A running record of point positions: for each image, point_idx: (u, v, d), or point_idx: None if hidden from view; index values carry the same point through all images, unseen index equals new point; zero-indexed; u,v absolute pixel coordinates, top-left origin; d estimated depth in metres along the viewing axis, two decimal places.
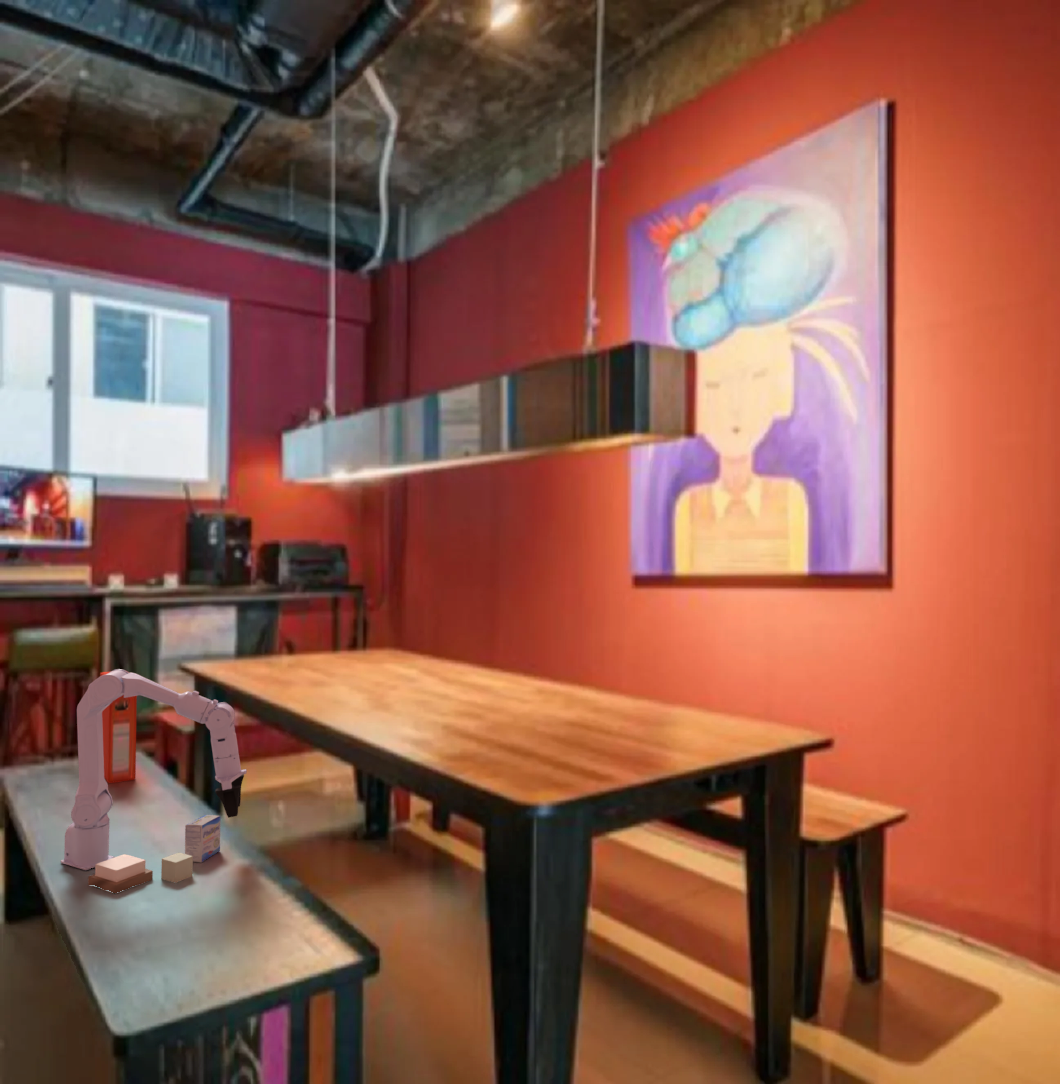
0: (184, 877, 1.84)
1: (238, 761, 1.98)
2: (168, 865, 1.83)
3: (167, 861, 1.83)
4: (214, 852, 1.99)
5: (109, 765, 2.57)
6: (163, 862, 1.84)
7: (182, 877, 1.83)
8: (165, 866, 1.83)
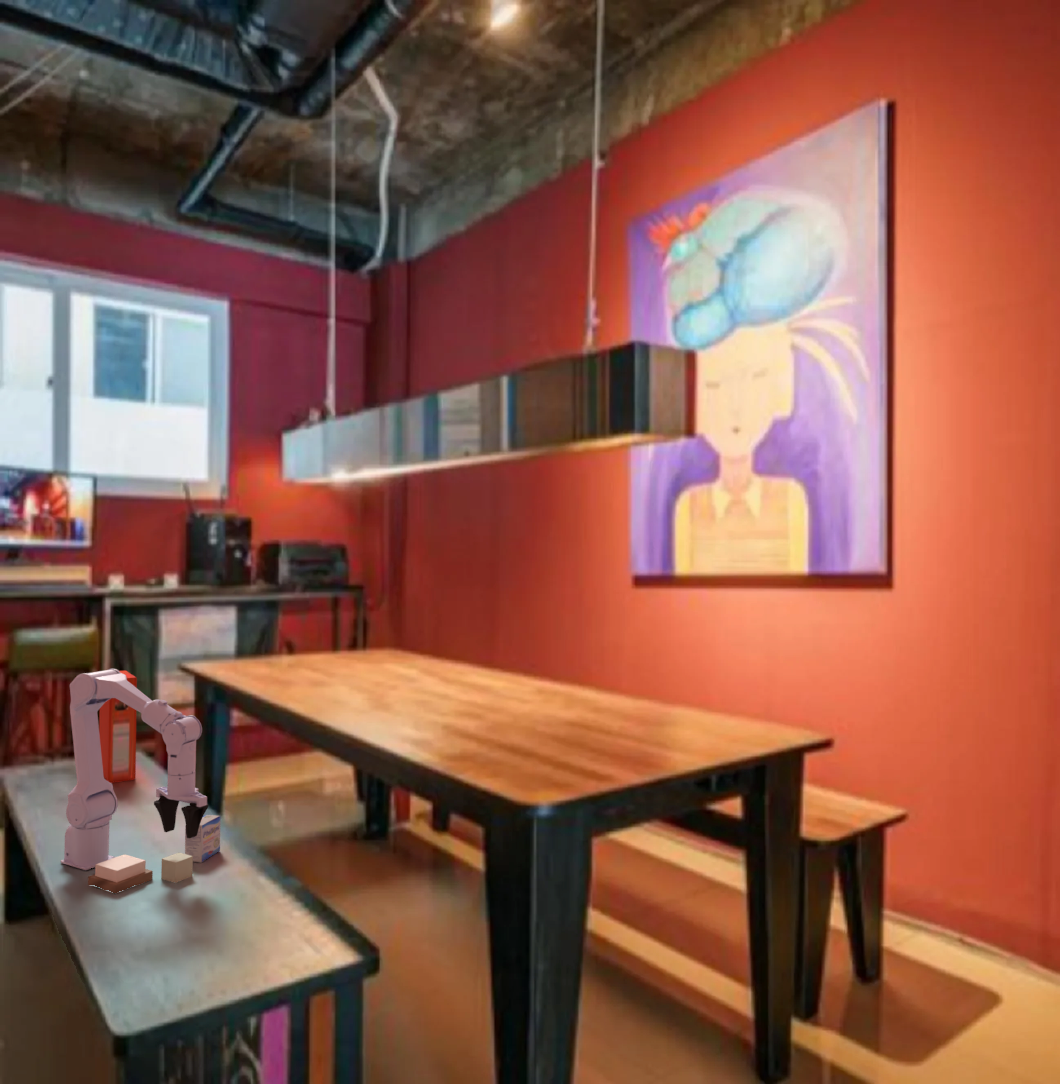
0: (184, 877, 1.84)
1: None
2: (168, 865, 1.83)
3: (167, 861, 1.83)
4: (214, 852, 1.99)
5: (109, 765, 2.57)
6: (163, 862, 1.84)
7: (182, 877, 1.83)
8: (165, 866, 1.83)
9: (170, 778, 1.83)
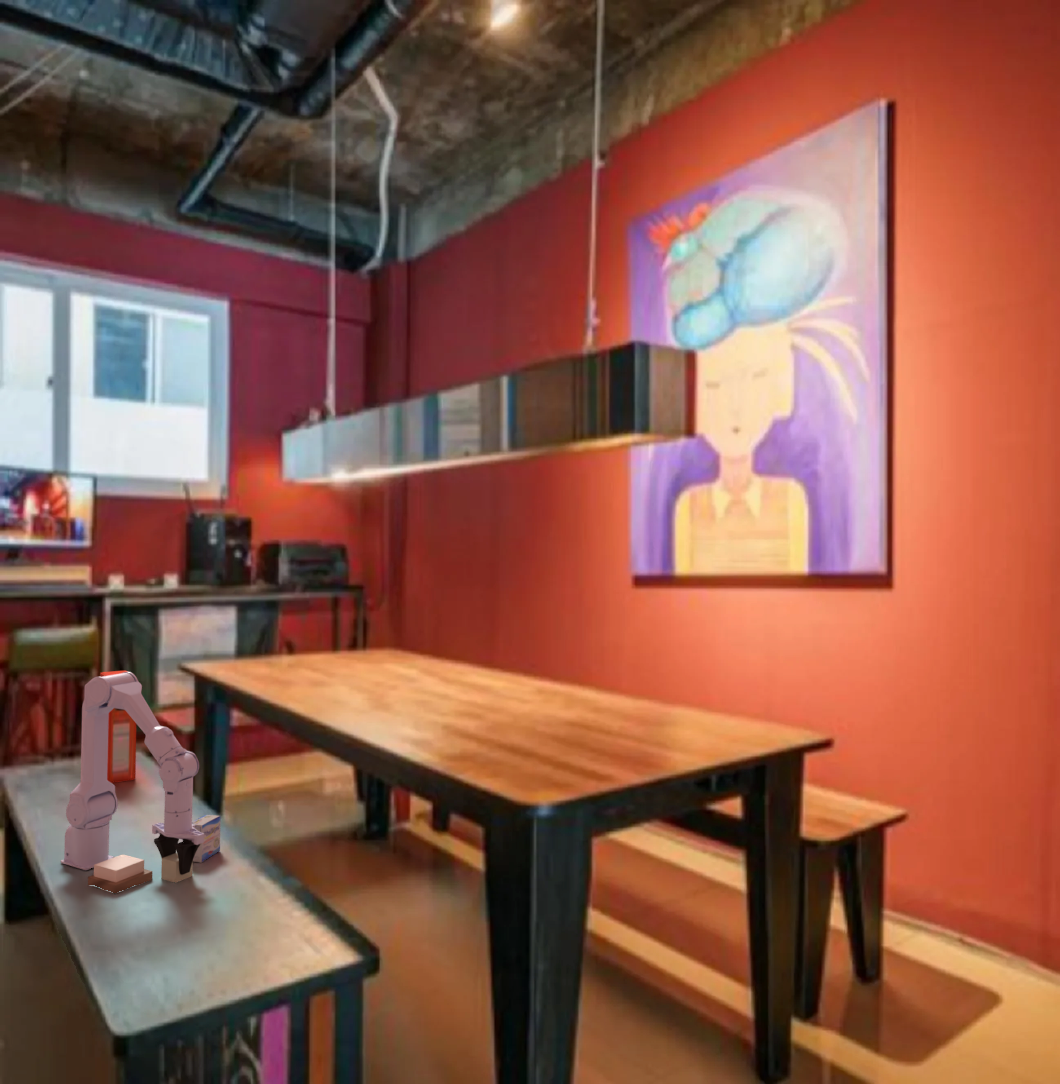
0: (184, 877, 1.84)
1: None
2: (168, 865, 1.83)
3: (167, 860, 1.83)
4: (214, 852, 1.99)
5: (109, 765, 2.57)
6: (163, 861, 1.84)
7: (182, 877, 1.83)
8: (165, 866, 1.83)
9: (167, 815, 1.83)
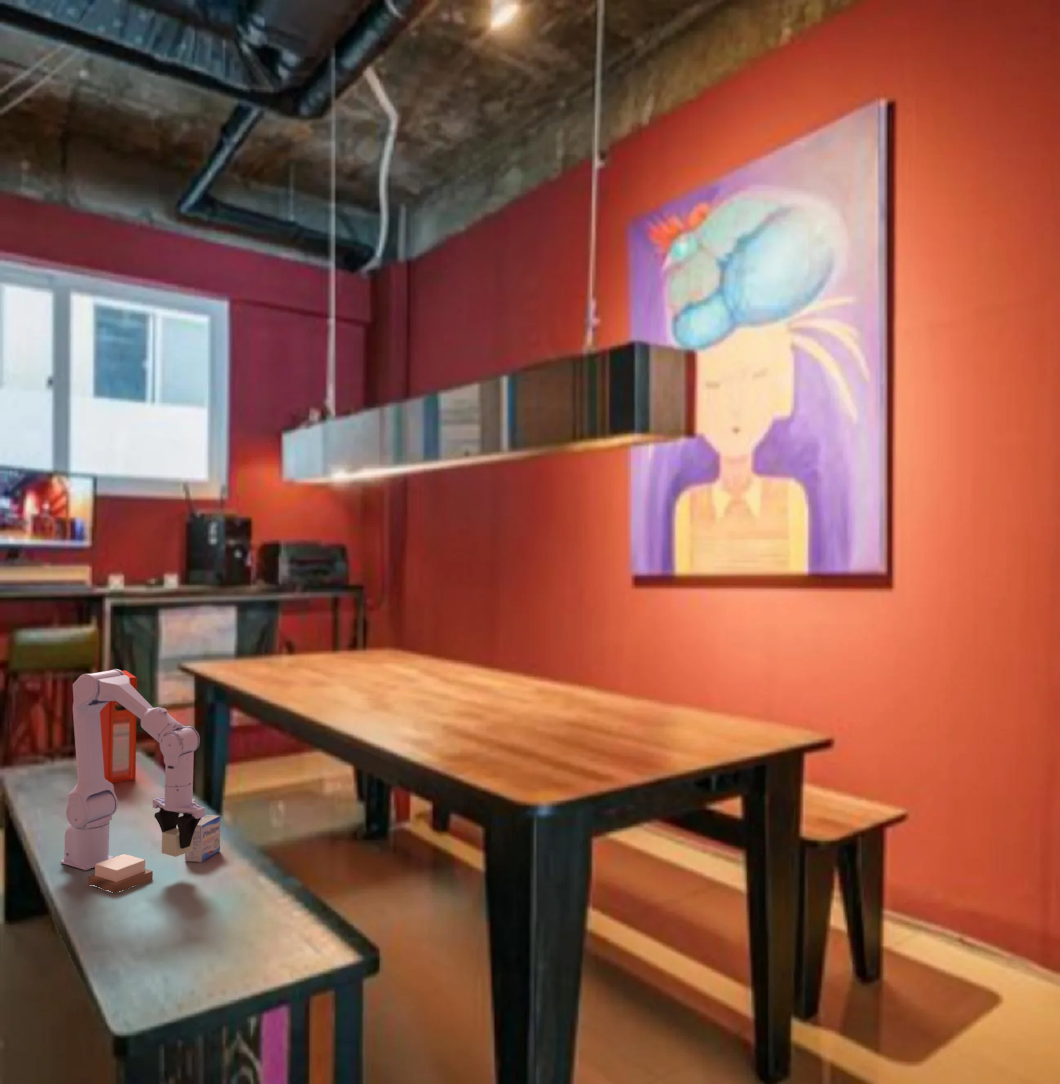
0: (184, 851, 1.84)
1: None
2: (168, 839, 1.83)
3: (167, 834, 1.83)
4: (214, 852, 1.99)
5: (109, 765, 2.57)
6: (164, 836, 1.84)
7: (182, 851, 1.84)
8: (165, 840, 1.83)
9: (167, 789, 1.83)
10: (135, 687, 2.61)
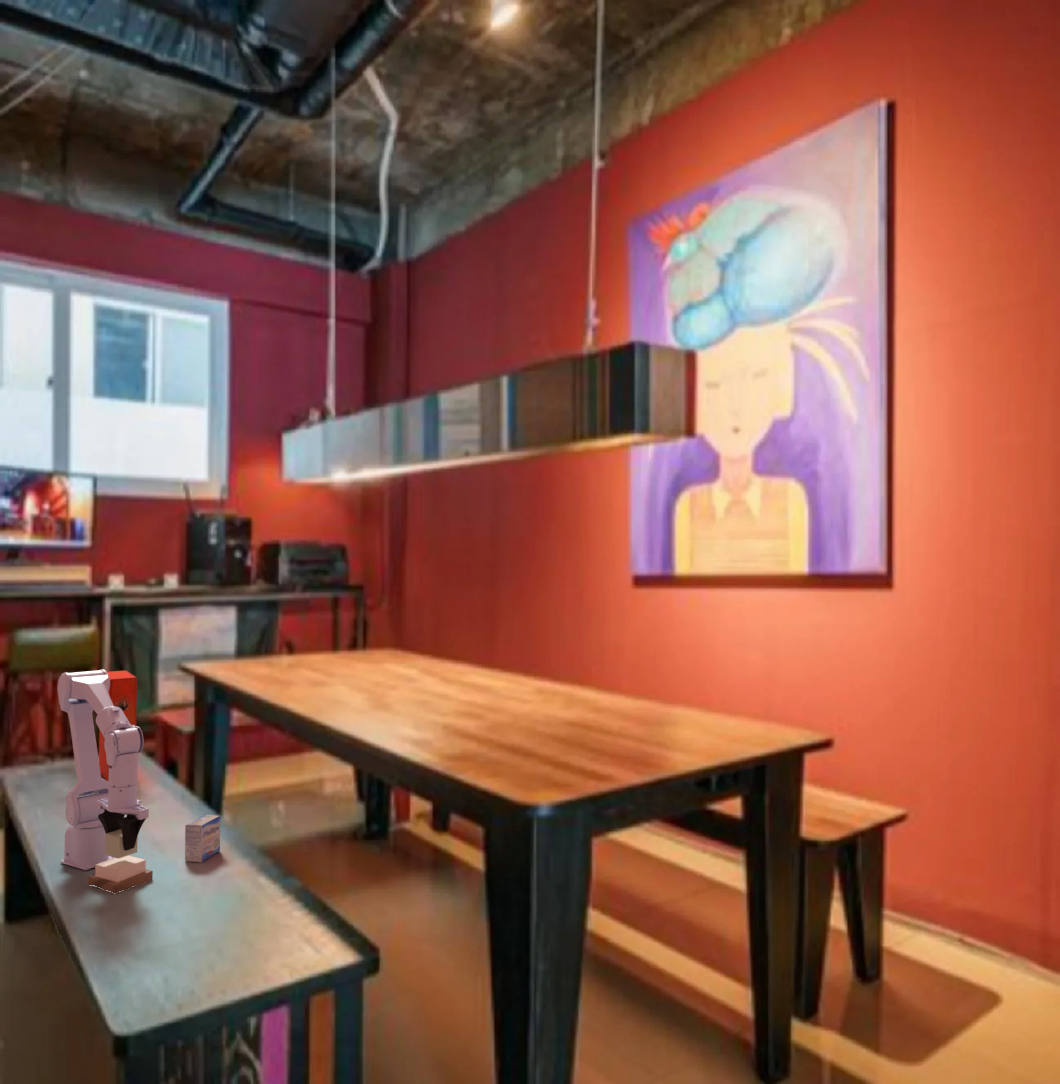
0: (128, 853, 1.81)
1: None
2: (112, 840, 1.80)
3: (110, 836, 1.80)
4: (214, 852, 1.99)
5: None
6: (107, 837, 1.80)
7: (126, 852, 1.80)
8: (109, 841, 1.80)
9: (111, 790, 1.79)
10: (135, 687, 2.61)
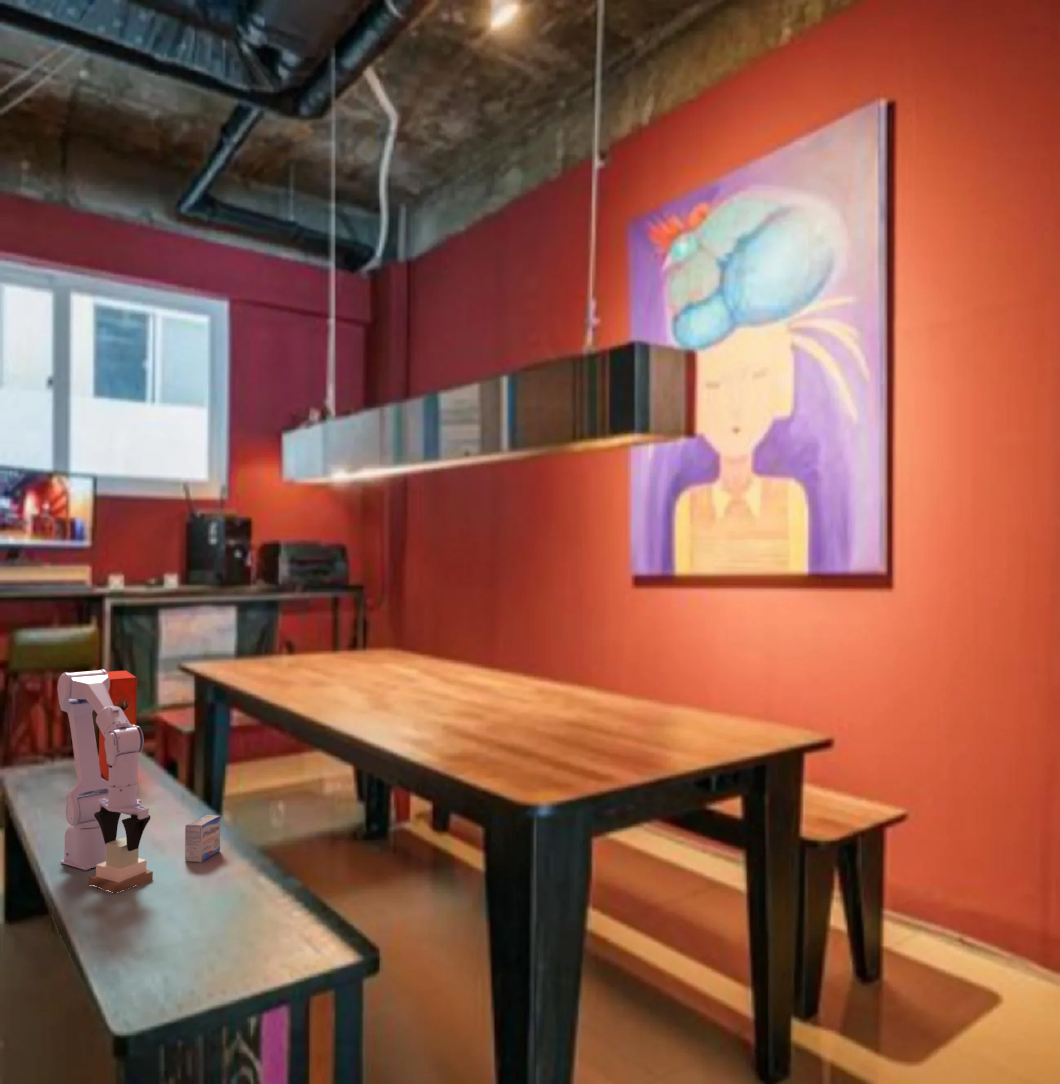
0: (130, 862, 1.81)
1: None
2: (113, 850, 1.79)
3: (112, 845, 1.80)
4: (214, 852, 1.99)
5: None
6: (108, 847, 1.80)
7: (127, 862, 1.80)
8: (110, 851, 1.80)
9: (111, 790, 1.79)
10: (135, 687, 2.61)
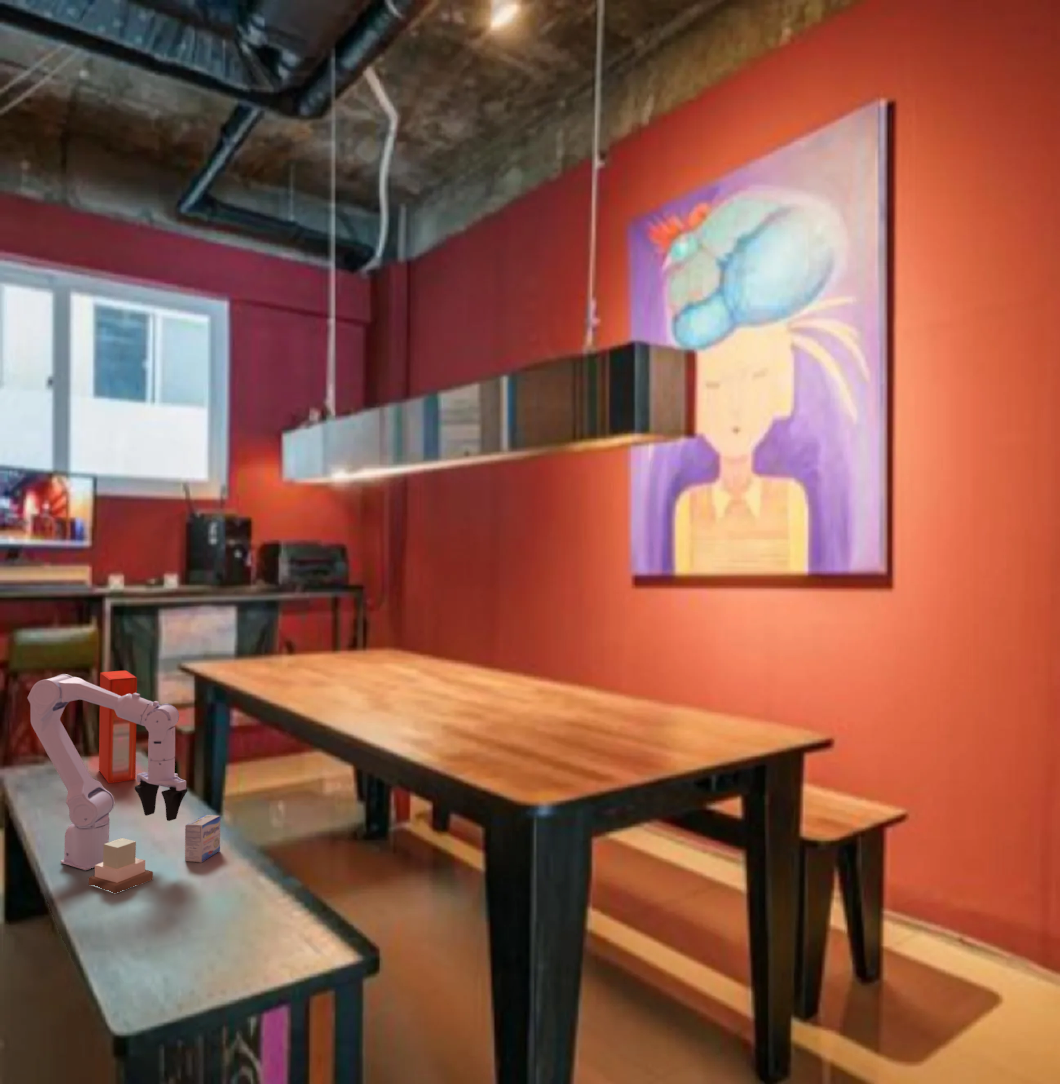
0: (126, 863, 1.80)
1: None
2: (110, 851, 1.79)
3: (109, 846, 1.79)
4: (214, 852, 1.99)
5: (109, 765, 2.57)
6: (105, 847, 1.80)
7: (124, 863, 1.80)
8: (107, 851, 1.80)
9: (150, 763, 1.91)
10: (135, 687, 2.61)
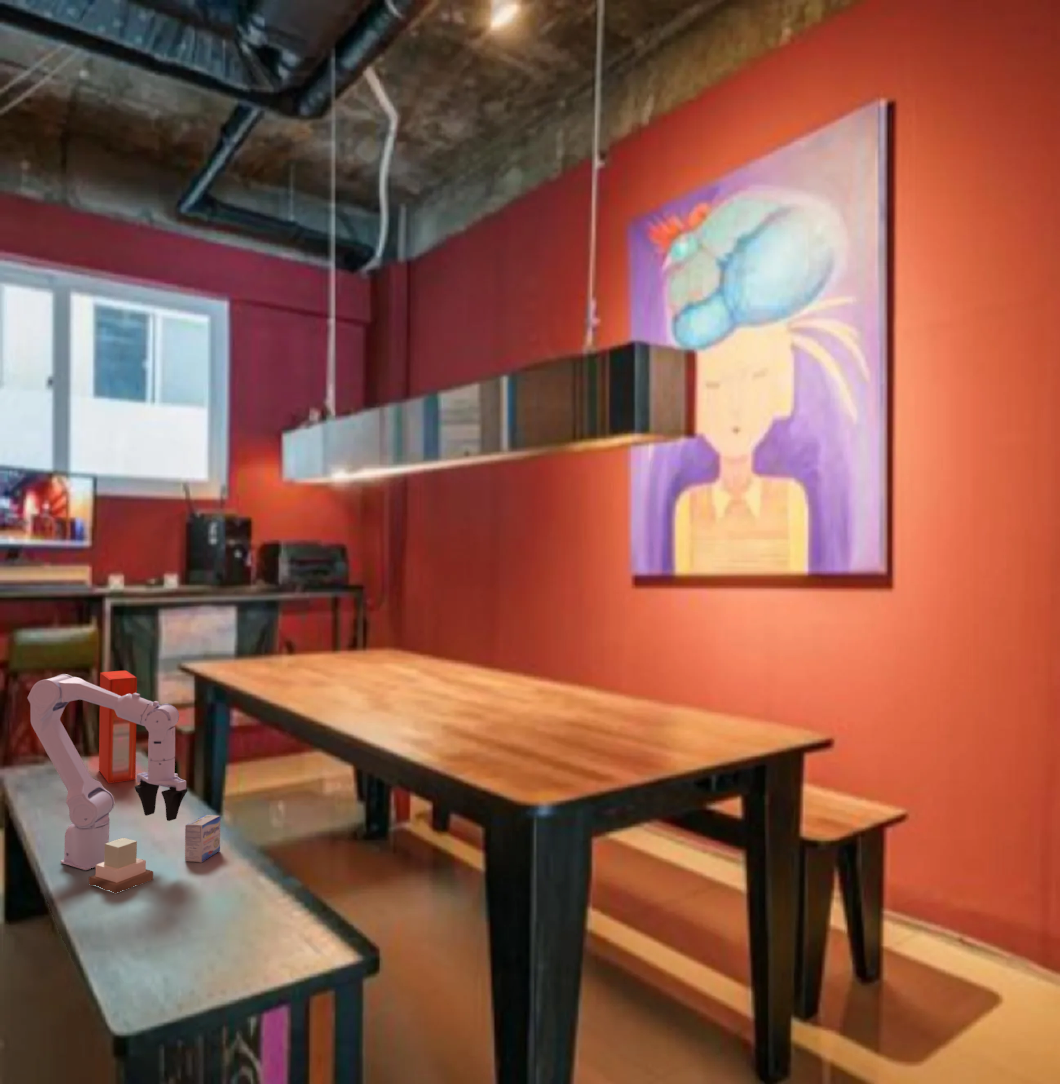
0: (127, 862, 1.80)
1: None
2: (111, 850, 1.79)
3: (110, 846, 1.80)
4: (214, 852, 1.99)
5: (109, 765, 2.57)
6: (106, 847, 1.80)
7: (125, 862, 1.80)
8: (108, 851, 1.80)
9: (150, 763, 1.91)
10: (135, 687, 2.61)
